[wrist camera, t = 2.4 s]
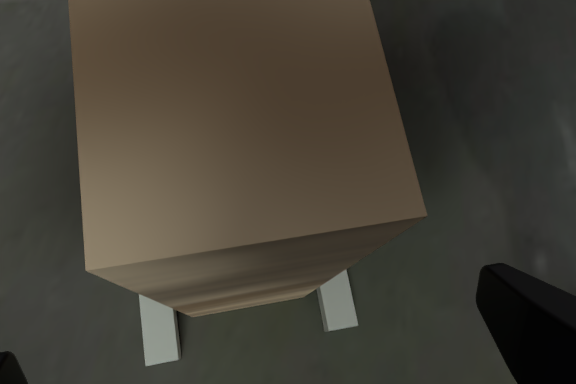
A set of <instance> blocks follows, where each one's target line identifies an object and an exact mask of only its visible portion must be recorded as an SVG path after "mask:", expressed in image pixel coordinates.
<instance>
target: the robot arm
mask: <svg viewBox="0 0 576 384" xmlns="http://www.w3.org/2000/svg"><path fill="white" fill-rule="evenodd" d="M476 304H477V307H478V309H479V311H480V313H481V315H482V317H483V319H484V321H485V323H486V325H487V327H488V329H489V331H490V333H491V335H492V337H493V339H494V341H495V343H496V345H497V347H498V349H499V351H500V353H501V355H502V357H503V359H504V361H505V363H506V364H507V366H508V368H509V370H510V372H511V374H512V375H513V377H514V379H515V380H516V382H517V383H518V384H576V296H574V295H572V294H570V293H568V292H565V291H563V290H561V289H559V288H557V287H555V286H552V285H550V284H548V283H546V282H544V281H541V280H539V279H537V278H535V277H533V276H530V275H528V274H526V273H524V272H522V271H520V270H517V269H515V268H513V267H511V266H509V265H506V264H504V263H496V264H491V265H486V266H483V267H482V269H481V270H480V275H479V280H478V286H477V292H476ZM0 384H28V382H27V379H26V377H25V375H24V373H23V371H22V369H21V367H20V365H19V362H18V360H17V358H16V356H15V355H14V354H13V353H12V352H9V351H6V352H0Z"/></svg>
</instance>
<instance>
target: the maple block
mask: <svg viewBox="0 0 576 384" xmlns="http://www.w3.org/2000/svg"><path fill="white" fill-rule="evenodd" d="M68 1H69V17H70V32H71V48H72V64H73V79H74V95H75V111H76V126H77V142H78V157H79V173H80V189H81V204H82V220H83V235H84V251H85V267H86V271H87V272H90V273H92V274H94V275H97V276H99V277H101V278H104V279H106V280H108V281H110V282H113V283H115V284H117V285H120V286H122V287H124V288H126V289H129V290H131V291H133V292H136V293H138V294H140V295H143V296H145V297H147V298H149V299H152V300H154V301H156V302H159V303H161V304H163V305H166V306H168V307H170V308H172V309H175V310H177V311H179V312H182V313H184V314H186V315H188V316H191V317H196V316H202V315H207V314H213V313H219V312H224V311H230V310H235V309H241V308H247V307H252V306H258V305H263V304H269V303H274V302H280V301H286V300H291V299H297V298H302V297H305V296H306V295H308V294H309V293H311V292H312V291H314V290H315V289H317V288H318V287H320V286H321V285H323V284H324V283H326V282H328V281H329V280H331V279H332V278H334V277H335V276H337V275H338V274H340V273H341V272H343V271H344V270H346V269H347V268H349V267H350V266H352V265H353V264H355V263H356V262H358V261H360V260H361V259H363V258H364V257H366V256H367V255H369V254H370V253H372V252H373V251H375V250H376V249H378V248H379V247H381V246H382V245H384V244H385V243H387V242H388V241H390V240H392V239H393V238H395V237H396V236H398V235H399V234H401V233H402V232H404V231H405V230H407V229H408V228H410V227H411V226H413V225H414V224H416V223H417V222H419V221H420V220H422V219H424V218H425V217H427V213H426V209H425V205H424V201H423V198H422V194H421V190H420V186H419V183H418V179H417V175H416V171H415V168H414V164H413V160H412V156H411V153H410V149H409V145H408V141H407V138H406V134H405V130H404V126H403V123H402V119H401V115H400V111H399V108H398V104H397V100H396V96H395V93H394V89H393V85H392V81H391V78H390V74H389V70H388V66H387V63H386V59H385V55H384V51H383V48H382V44H381V40H380V36H379V33H378V29H377V25H376V21H375V18H374V14H373V10H372V6H371V3H370V0H68Z"/></svg>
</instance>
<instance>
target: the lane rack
mask: <svg viewBox="0 0 576 384" xmlns="http://www.w3.org/2000/svg"><path fill="white" fill-rule="evenodd" d="M316 290H317V295H318V300H319V305H320V311H321V316H322V321H323V326H324V331H332V330H338V329H343V328H348V327H353V326H358V322H357V317H356V312H355V308H354V303H353V298H352V294H351V289H350V284H349V280H348V275H347V270H344V271H343V272H341V273H340V274H338V275H337V276H335V277H334V278H332V279H331V280H329V281H328V282H326V283H324V284H323V285H321V286H320V287H318V288H317V289H316ZM139 300H140V311H141V322H142V332H143V343H144V354H145V365H146V366H148V365H154V364H159V363H164V362H169V361H175V360H179V359H182V358H181V349H180V340H179V331H178V322H177V314H176V310H175V309H172V308H170V307H168V306H166V305H163V304H161V303H159V302H156V301H154V300H152V299H149V298H147V297H145V296H143V295H140V294H139Z"/></svg>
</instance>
